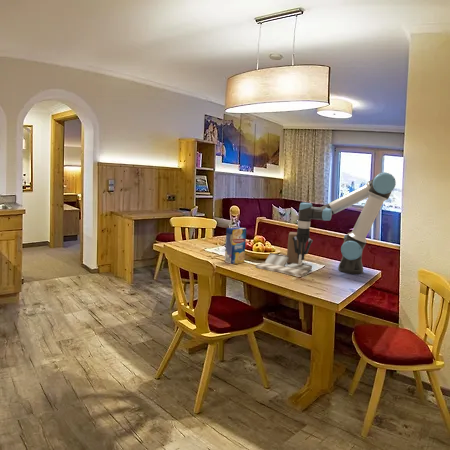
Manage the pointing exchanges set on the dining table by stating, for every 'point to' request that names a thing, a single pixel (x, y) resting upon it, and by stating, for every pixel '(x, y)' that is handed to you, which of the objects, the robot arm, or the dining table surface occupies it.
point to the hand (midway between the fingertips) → (300, 264)
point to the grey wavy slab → (300, 266)
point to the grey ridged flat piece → (277, 259)
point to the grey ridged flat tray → (281, 269)
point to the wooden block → (292, 249)
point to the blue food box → (235, 245)
